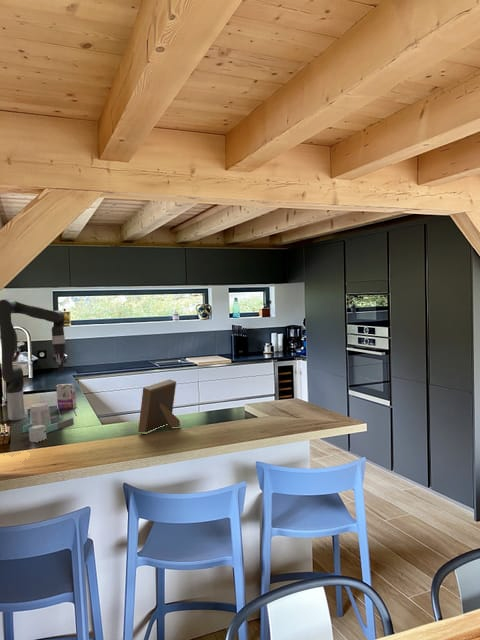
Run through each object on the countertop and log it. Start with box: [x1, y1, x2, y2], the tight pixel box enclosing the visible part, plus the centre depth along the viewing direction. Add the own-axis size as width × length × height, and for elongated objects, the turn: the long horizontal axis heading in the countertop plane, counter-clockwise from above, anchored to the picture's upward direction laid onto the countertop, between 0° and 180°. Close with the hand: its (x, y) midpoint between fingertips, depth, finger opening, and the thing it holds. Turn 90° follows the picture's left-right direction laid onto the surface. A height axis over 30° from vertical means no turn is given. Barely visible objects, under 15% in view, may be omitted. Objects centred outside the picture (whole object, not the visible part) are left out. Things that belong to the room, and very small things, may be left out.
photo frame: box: [137, 379, 181, 433], centre depth 250 cm, size 15×22×25 cm
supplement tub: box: [30, 402, 51, 426], centre depth 267 cm, size 10×10×15 cm
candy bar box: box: [55, 383, 77, 410], centre depth 318 cm, size 11×5×16 cm, turn 80°
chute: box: [22, 415, 75, 434], centre depth 271 cm, size 15×22×4 cm
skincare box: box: [28, 425, 48, 443], centre depth 248 cm, size 6×6×7 cm
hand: (61, 370), depth 295 cm, fingers closed
